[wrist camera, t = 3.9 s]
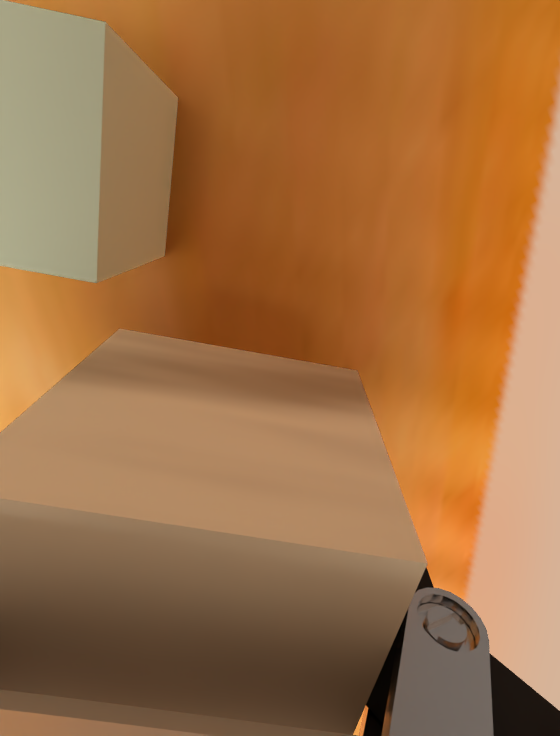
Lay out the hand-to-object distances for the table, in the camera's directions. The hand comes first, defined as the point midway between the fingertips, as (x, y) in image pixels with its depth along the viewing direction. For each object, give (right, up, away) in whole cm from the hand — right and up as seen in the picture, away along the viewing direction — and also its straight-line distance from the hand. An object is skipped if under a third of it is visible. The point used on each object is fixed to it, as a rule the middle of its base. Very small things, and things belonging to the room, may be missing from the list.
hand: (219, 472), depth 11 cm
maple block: (0, 0, +1) cm, 1 cm away
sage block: (-5, +9, +4) cm, 11 cm away
